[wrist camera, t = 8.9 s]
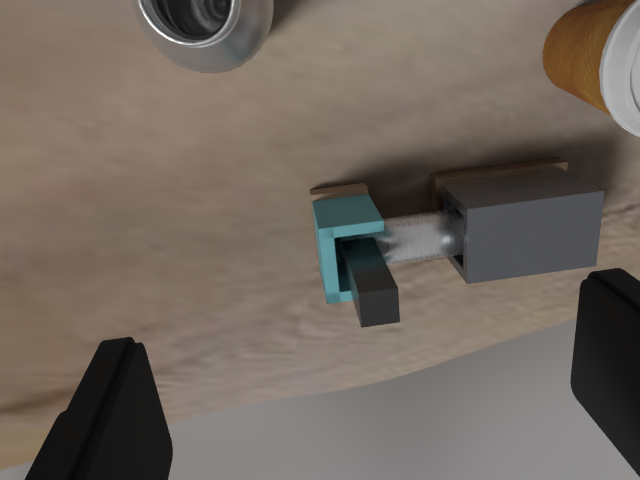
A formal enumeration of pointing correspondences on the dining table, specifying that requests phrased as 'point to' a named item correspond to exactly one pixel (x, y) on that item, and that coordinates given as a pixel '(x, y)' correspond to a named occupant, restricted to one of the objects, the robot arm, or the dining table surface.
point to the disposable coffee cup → (599, 58)
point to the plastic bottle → (206, 30)
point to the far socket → (340, 230)
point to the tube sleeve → (521, 218)
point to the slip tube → (395, 258)
